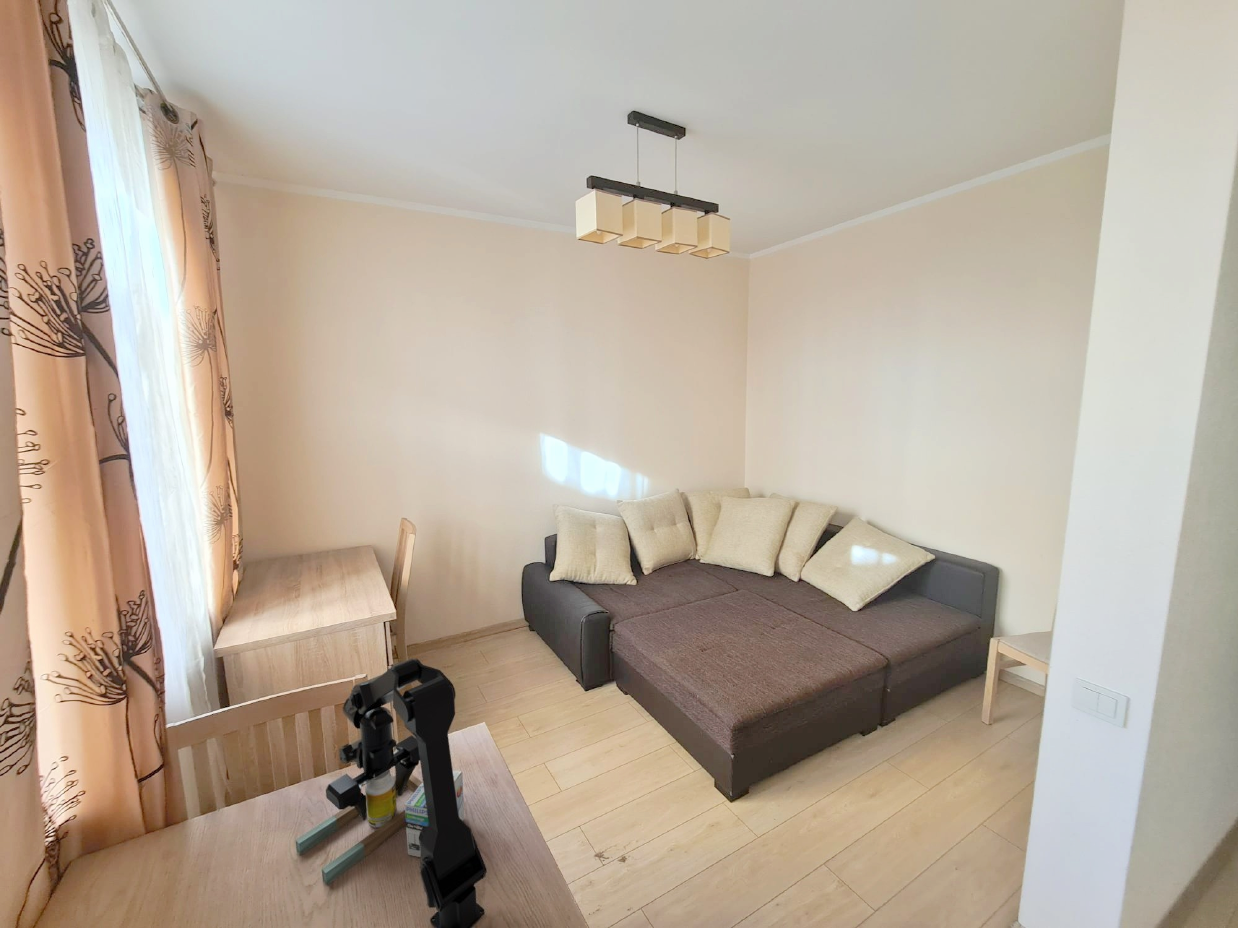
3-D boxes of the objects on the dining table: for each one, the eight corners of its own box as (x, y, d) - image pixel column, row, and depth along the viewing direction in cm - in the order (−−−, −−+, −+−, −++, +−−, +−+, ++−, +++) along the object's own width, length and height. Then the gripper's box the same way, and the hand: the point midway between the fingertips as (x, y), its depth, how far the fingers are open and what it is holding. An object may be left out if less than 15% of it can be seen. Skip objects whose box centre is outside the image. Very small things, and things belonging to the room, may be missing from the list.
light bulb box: (438, 862, 97) (435, 810, 96) (406, 855, 98) (402, 805, 97) (465, 816, 108) (463, 769, 106) (436, 811, 109) (434, 765, 107)
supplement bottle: (398, 821, 106) (395, 776, 105) (368, 833, 104) (365, 787, 102) (395, 803, 111) (392, 760, 110) (366, 813, 108) (363, 769, 107)
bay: (437, 803, 111) (437, 792, 111) (326, 885, 93) (325, 872, 92) (405, 779, 118) (405, 769, 118) (296, 851, 99) (295, 839, 99)
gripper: (397, 701, 117) (401, 764, 119) (309, 747, 102) (316, 817, 104) (426, 719, 111) (430, 785, 113) (337, 770, 96) (343, 845, 98)
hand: (381, 806), depth 107 cm, fingers closed on supplement bottle, 7 cm apart
